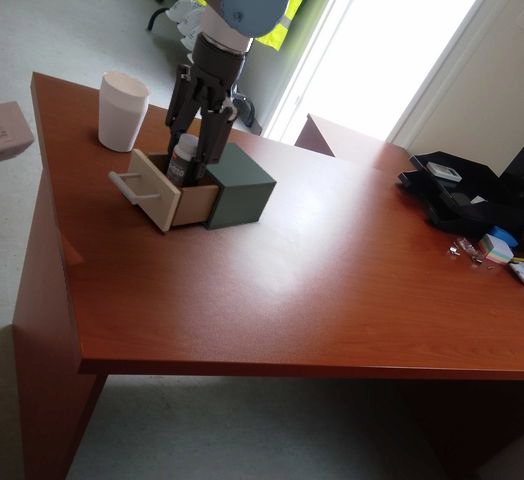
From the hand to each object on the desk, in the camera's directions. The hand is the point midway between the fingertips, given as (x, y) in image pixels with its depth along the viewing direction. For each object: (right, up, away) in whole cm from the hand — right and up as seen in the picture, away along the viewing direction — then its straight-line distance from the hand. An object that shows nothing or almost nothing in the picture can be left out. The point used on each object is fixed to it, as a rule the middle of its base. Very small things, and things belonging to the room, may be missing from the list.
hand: (178, 181), depth 82 cm
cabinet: (+5, 0, +12) cm, 13 cm away
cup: (-15, +12, +12) cm, 23 cm away
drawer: (-4, -4, +2) cm, 6 cm away
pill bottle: (0, 0, 0) cm, 1 cm away
